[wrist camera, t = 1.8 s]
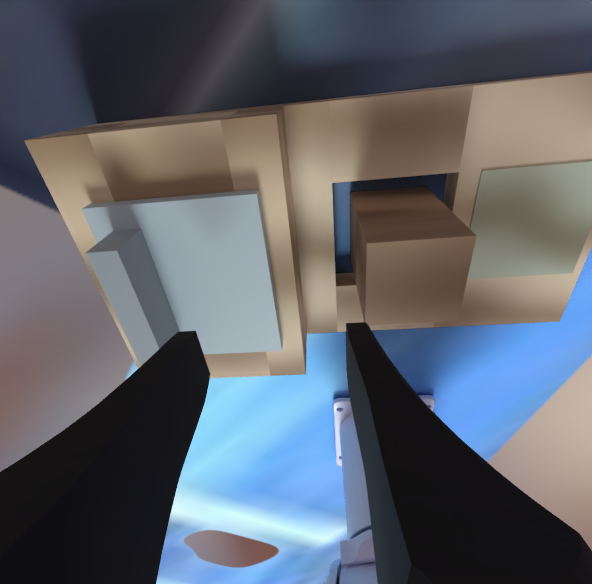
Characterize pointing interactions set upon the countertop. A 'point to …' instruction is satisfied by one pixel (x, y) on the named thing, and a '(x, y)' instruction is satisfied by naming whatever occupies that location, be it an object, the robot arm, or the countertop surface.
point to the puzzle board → (356, 167)
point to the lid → (187, 271)
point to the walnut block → (408, 256)
